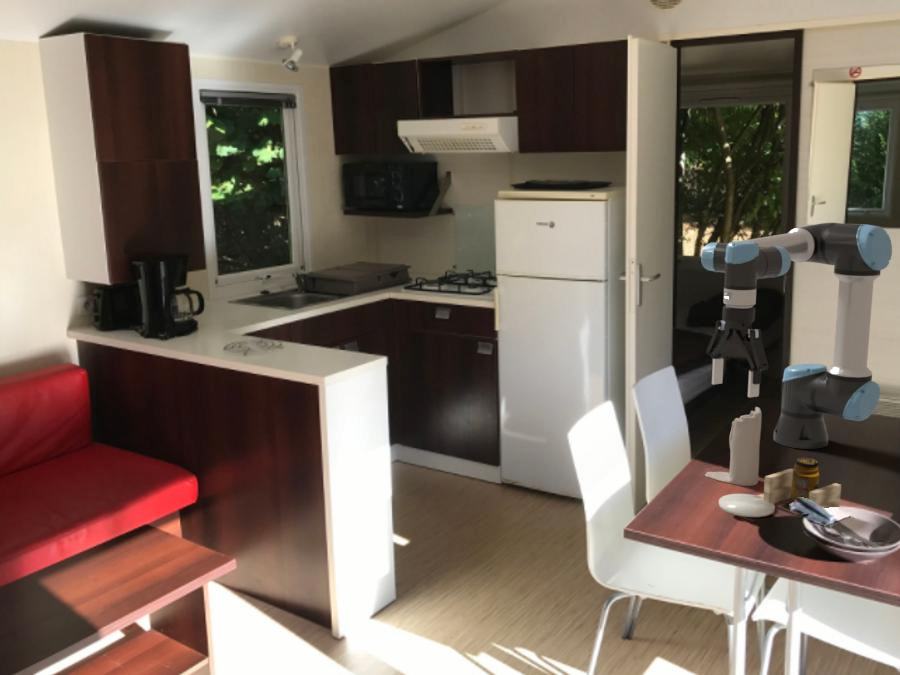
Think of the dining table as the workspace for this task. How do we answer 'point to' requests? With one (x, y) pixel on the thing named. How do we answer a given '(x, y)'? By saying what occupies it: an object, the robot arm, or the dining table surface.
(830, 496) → the rack
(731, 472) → the candle
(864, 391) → the robot arm
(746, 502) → the coaster
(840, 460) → the dining table surface
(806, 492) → the condiment
